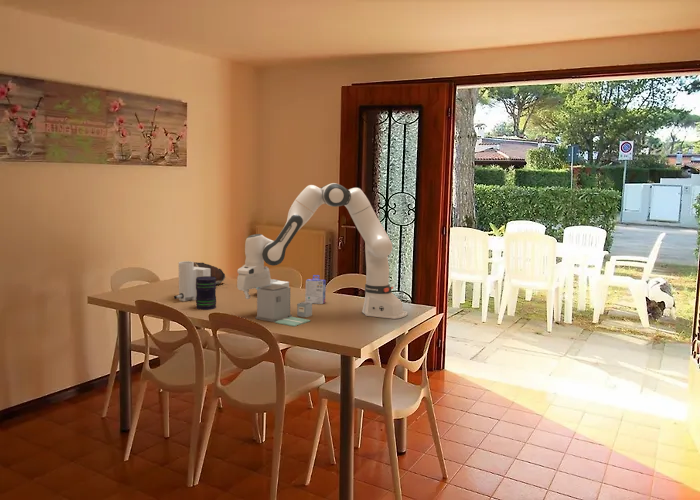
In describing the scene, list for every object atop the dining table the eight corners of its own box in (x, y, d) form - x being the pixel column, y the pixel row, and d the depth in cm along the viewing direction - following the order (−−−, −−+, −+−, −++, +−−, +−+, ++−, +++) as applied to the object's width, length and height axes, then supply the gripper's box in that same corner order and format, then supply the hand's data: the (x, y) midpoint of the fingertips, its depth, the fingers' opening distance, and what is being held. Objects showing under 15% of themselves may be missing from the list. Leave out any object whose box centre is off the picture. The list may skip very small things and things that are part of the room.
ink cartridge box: (325, 302, 316) (326, 275, 314) (323, 304, 311) (323, 276, 309) (307, 301, 318) (308, 274, 316) (304, 303, 313) (305, 275, 311)
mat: (310, 321, 274) (310, 319, 274) (294, 326, 264) (294, 325, 264) (291, 317, 280) (291, 316, 280) (275, 322, 270) (275, 321, 270)
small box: (278, 305, 305) (278, 280, 304) (289, 307, 303) (289, 281, 301) (270, 308, 298) (270, 283, 296) (281, 310, 295) (281, 284, 294)
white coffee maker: (211, 298, 319) (210, 261, 317) (187, 304, 302) (187, 265, 300) (186, 295, 326) (186, 258, 323) (162, 301, 309) (162, 263, 307)
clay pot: (233, 264, 359) (200, 261, 339) (232, 290, 358) (198, 288, 338) (216, 265, 368) (183, 261, 348) (215, 290, 367) (182, 288, 347)
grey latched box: (291, 316, 282) (292, 286, 280) (274, 322, 271) (274, 290, 269) (273, 313, 288) (273, 283, 286) (255, 318, 277) (255, 287, 275)
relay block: (311, 315, 286) (312, 302, 285) (305, 317, 281) (305, 304, 280) (303, 314, 288) (303, 301, 287) (296, 316, 284) (297, 303, 283)
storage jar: (220, 307, 298) (220, 277, 297) (205, 310, 290) (205, 280, 289) (206, 304, 304) (206, 275, 302) (191, 307, 296) (191, 278, 294)
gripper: (263, 265, 293) (263, 292, 295) (234, 270, 276) (234, 299, 278) (273, 266, 290) (273, 294, 292) (245, 271, 273) (245, 301, 275)
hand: (254, 297), depth 285 cm, fingers open, 8 cm apart
